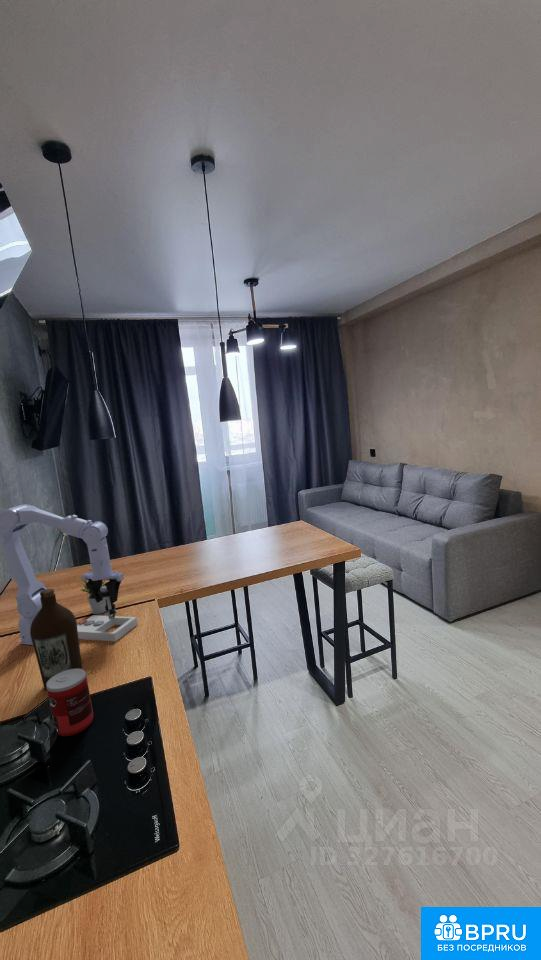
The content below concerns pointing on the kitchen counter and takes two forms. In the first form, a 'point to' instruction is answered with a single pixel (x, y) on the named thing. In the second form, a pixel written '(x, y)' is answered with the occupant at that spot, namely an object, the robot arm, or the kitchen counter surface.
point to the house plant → (95, 606)
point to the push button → (107, 602)
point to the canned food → (70, 701)
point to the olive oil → (55, 638)
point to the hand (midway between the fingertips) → (107, 601)
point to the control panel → (105, 627)
